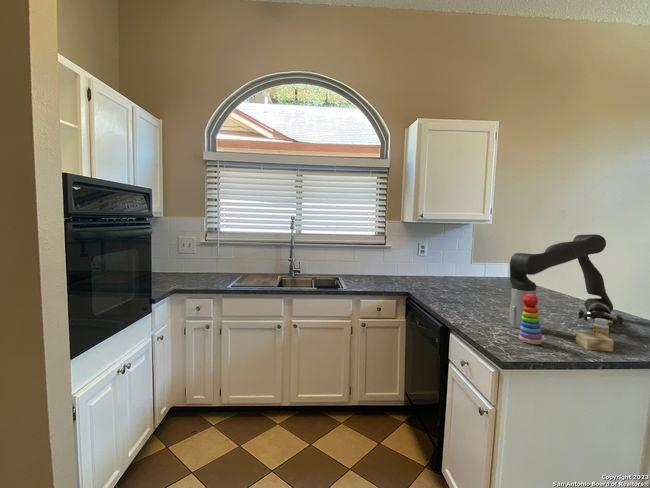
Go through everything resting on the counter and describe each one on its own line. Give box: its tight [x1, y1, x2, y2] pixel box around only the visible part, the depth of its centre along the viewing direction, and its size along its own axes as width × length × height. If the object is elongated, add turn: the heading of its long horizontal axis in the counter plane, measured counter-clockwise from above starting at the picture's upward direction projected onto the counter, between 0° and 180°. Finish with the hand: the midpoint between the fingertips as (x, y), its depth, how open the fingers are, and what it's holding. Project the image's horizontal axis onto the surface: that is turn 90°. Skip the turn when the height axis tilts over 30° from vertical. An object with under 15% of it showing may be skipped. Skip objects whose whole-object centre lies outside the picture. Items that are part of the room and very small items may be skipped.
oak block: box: [575, 331, 615, 352], centre depth 118 cm, size 8×8×4 cm
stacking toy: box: [518, 294, 544, 345], centre depth 123 cm, size 8×8×19 cm
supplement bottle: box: [592, 318, 610, 338], centre depth 124 cm, size 5×5×8 cm
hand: (600, 320), depth 130 cm, fingers open, 8 cm apart
